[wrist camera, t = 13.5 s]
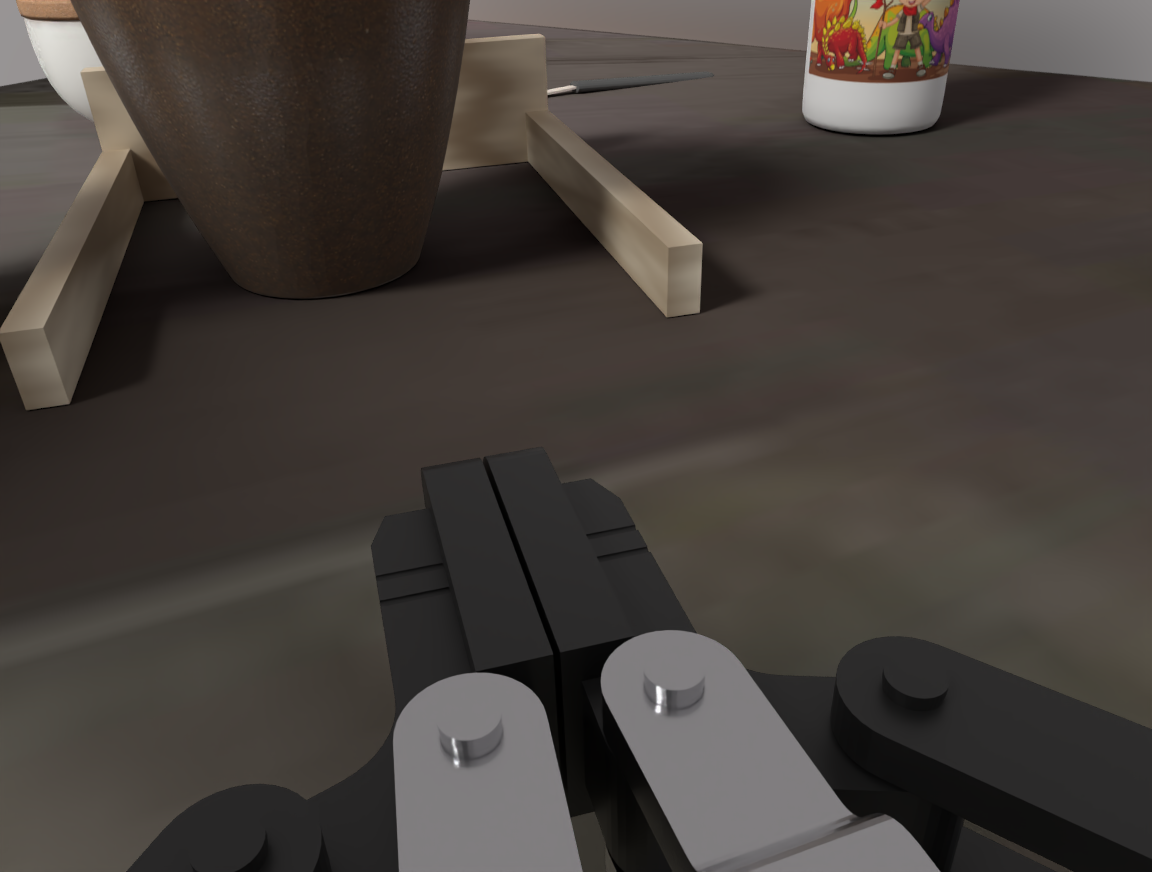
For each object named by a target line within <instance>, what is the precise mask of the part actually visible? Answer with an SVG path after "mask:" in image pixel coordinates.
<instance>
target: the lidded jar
mask: <svg viewBox="0 0 1152 872" xmlns="http://www.w3.org/2000/svg"><path fill="white" fill-rule="evenodd" d="M16 2H17V6H18V8H19V12H20V14H21V16H23V17H24V20H25V24H26V27H27V30H28V34H29V37H30V40H31V43H32V45H33V48H34V51H35V54H36V56H37V58H38V60H39V63H40V65H41V67H42V69H43V71H44V73H45V74H46V76H47V78H48V80H49V82H50V83H51V85H52V86H53V88H54V89H55V90H56V92H57V93H58V94H59V96H60V97H61V98H62V99H63V100H64V101H65V102H66V103H67V104H68V105H69V106H70V107H71V108H73V109H74V110H75V111H76V112H78V113H79V114H80V115H82V116H83V117H85V118H87V119H88V120H90V121H92V122H93V123H94V120H93V116H92V113H91V109H90V105H89V102H88V98H87V95H86V91H85V88H84V84H83V81H82V77H81V74H80V72H81V71H82V70H83V69H84V68H89V67H102V66H103V65H102V63H101V61H100V60H99V58H98V56H97V54H96V52H95V50H94V48H93V46H92V44H91V42H90V40H89V38H88V36H87V34H86V32H85V30H84V28H83V26H82V24H81V22H80V19H79V17H78V15H77V13H76V11H75V9H74V7H73V5H72V3H71V1H70V0H16Z"/></svg>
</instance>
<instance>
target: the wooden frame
mask: <svg viewBox="0 0 1152 872" xmlns="http://www.w3.org/2000/svg"><path fill="white" fill-rule="evenodd" d="M80 74H81V77H82V81H83V84H84V88H85V91H86V95H87V98H88V102H89V105H90V109H91V113H92V116H93V120H94V123H95V127H96V130H97V134H98V137H99V141H100V144H101V148H102V151H103V152H102V153H101V155H100V157H99V159H98V160H97V162H96V164H95V166H94V167H93V169H92V171H91V172H90V174H89V176H88V178H87V179H86V181H85V183H84V185H83V186H82V188H81V190H80V191H79V193H78V195H77V197H76V198H75V200H74V202H73V204H72V205H71V207H70V209H69V211H68V212H67V214H66V216H65V217H64V219H63V221H62V223H61V224H60V226H59V228H58V230H57V231H56V233H55V235H54V236H53V238H52V240H51V242H50V243H49V245H48V247H47V249H46V250H45V252H44V254H43V256H42V257H41V259H40V261H39V262H38V264H37V266H36V268H35V269H34V271H33V273H32V275H31V276H30V278H29V280H28V282H27V283H26V285H25V287H24V288H23V290H22V292H21V294H20V295H19V297H18V299H17V301H16V302H15V304H14V306H13V307H12V309H11V311H10V313H9V314H8V316H7V318H6V320H5V321H4V323H3V325H2V327H1V328H0V342H1V345H2V347H3V350H4V353H5V355H6V358H7V361H8V363H9V366H10V369H11V371H12V374H13V377H14V379H15V382H16V385H17V387H18V390H19V392H20V395H21V398H22V400H23V403H24V406H25V408H26V410H32V409H38V408H45V407H52V406H59V405H66V404H70V402H71V399H72V396H73V394H74V391H75V388H76V385H77V383H78V380H79V377H80V375H81V372H82V369H83V366H84V364H85V361H86V358H87V355H88V353H89V350H90V347H91V345H92V342H93V339H94V336H95V334H96V331H97V328H98V325H99V323H100V320H101V317H102V315H103V312H104V309H105V306H106V304H107V301H108V298H109V296H110V293H111V290H112V287H113V285H114V282H115V279H116V276H117V274H118V271H119V268H120V266H121V263H122V260H123V257H124V255H125V252H126V249H127V246H128V244H129V241H130V238H131V236H132V233H133V230H134V227H135V225H136V222H137V219H138V217H139V214H140V211H141V208H142V206H143V203H144V201H153V200H163V199H173V198H178V197H177V195H176V194H175V192H174V190H173V189H172V187H171V186H170V184H169V182H168V181H167V179H166V178H165V176H164V174H163V173H162V171H161V169H160V168H159V166H158V164H157V163H156V161H155V159H154V158H153V156H152V154H151V153H150V151H149V149H148V147H147V146H146V144H145V142H144V140H143V139H142V137H141V135H140V133H139V132H138V130H137V128H136V126H135V125H134V123H133V121H132V119H131V117H130V116H129V114H128V112H127V110H126V108H125V106H124V105H123V103H122V101H121V99H120V97H119V95H118V94H117V92H116V90H115V88H114V86H113V84H112V82H111V80H110V78H109V77H108V75H107V73H106V71H105V69H104V67H103V66H102V67H89V68H84V69H83V70H82V71H81V72H80ZM518 162H529V163H530V164H531V165H532V166H533V168H534V169H535V170H536V171H537V172H538V173H539V174H540V175H541V177H542V178H543V179H544V180H545V181H546V182H547V183H548V184H549V186H550V187H551V188H552V189H553V190H554V191H555V192H556V193H557V194H558V196H559V197H560V198H561V199H562V200H563V201H564V202H565V203H566V205H567V206H568V207H569V208H570V209H571V210H572V211H573V212H574V214H575V215H576V216H577V217H578V218H579V219H580V220H581V221H582V223H583V224H584V225H585V226H586V227H587V228H588V229H589V230H590V232H591V233H592V234H593V235H594V236H595V237H596V238H597V239H598V241H599V242H600V243H601V244H602V245H603V246H604V247H605V248H606V250H607V251H608V252H609V253H610V254H611V255H612V256H613V257H614V259H615V260H616V261H617V262H618V263H619V264H620V265H621V266H622V268H623V269H624V270H625V271H626V272H627V273H628V274H629V275H630V277H631V278H632V279H633V280H634V281H635V282H636V283H637V284H638V285H639V287H640V288H641V289H642V290H643V291H644V292H645V293H646V294H647V296H648V297H649V298H650V299H651V300H652V301H653V302H654V303H655V305H656V306H657V307H658V308H659V309H660V310H661V311H662V312H663V314H664V315H665V316H666V317H674V316H681V315H688V314H695V313H700V295H701V270H702V246H703V243H702V242H701V241H699V240H698V239H697V238H696V237H695V236H694V235H692V234H691V233H690V232H689V231H688V230H687V229H685V228H684V227H683V226H682V225H681V224H680V223H678V222H677V221H676V220H675V219H674V218H673V217H672V216H670V215H669V214H668V213H667V212H666V211H665V210H663V209H662V208H661V207H660V206H659V205H658V204H656V203H655V202H654V201H653V200H652V199H651V198H649V197H648V196H647V195H646V194H645V193H644V192H643V191H641V190H640V189H639V188H638V187H637V186H636V185H634V184H633V183H632V182H631V181H630V180H629V179H627V178H626V177H625V176H624V175H623V174H622V173H620V172H619V171H618V170H617V169H616V168H615V167H613V166H612V165H611V164H610V163H609V162H608V161H607V160H605V159H604V158H603V157H602V156H601V155H600V154H598V153H597V152H596V151H595V150H594V149H593V148H591V147H590V146H589V145H588V144H587V143H586V142H584V141H583V140H582V139H581V138H580V137H579V136H577V135H576V134H575V133H574V132H573V131H572V130H571V129H569V128H568V127H567V126H566V125H565V124H564V123H562V122H561V121H560V120H559V119H558V118H557V117H555V116H554V115H553V114H552V113H551V112H550V111H548V95H547V72H546V49H545V37H544V36H542V35H541V34H529V35H516V36H502V37H489V38H476V39H465V44H464V50H463V57H462V64H461V70H460V77H459V84H458V90H457V96H456V101H455V107H454V113H453V118H452V124H451V129H450V134H449V140H448V145H447V150H446V155H445V160H444V164H443V169H442V170H451V169H461V168H470V167H480V166H489V165H499V164H509V163H518Z"/></svg>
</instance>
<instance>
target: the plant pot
mask: <svg viewBox="0 0 1152 872" xmlns="http://www.w3.org/2000/svg"><path fill="white" fill-rule="evenodd" d="M70 1H71V3H72V5H73V7H74V9H75V11H76V13H77V15H78V17H79V19H80V22H81V24H82V26H83V28H84V30H85V32H86V34H87V36H88V38H89V40H90V42H91V44H92V46H93V48H94V50H95V52H96V54H97V56H98V58H99V60H100V61H101V63H102V65H103V67H104V69H105V71H106V73H107V75H108V77H109V78H110V80H111V82H112V84H113V86H114V88H115V90H116V92H117V94H118V95H119V97H120V99H121V101H122V103H123V105H124V106H125V108H126V110H127V112H128V114H129V116H130V117H131V119H132V121H133V123H134V125H135V126H136V128H137V130H138V132H139V133H140V135H141V137H142V139H143V140H144V142H145V144H146V146H147V147H148V149H149V151H150V153H151V154H152V156H153V158H154V159H155V161H156V163H157V164H158V166H159V168H160V169H161V171H162V173H163V174H164V176H165V178H166V179H167V181H168V182H169V184H170V186H171V187H172V189H173V190H174V192H175V194H176V195H177V197H178V198H179V200H180V202H181V203H182V205H183V206H184V208H185V210H186V211H187V213H188V214H189V216H190V217H191V219H192V221H193V222H194V224H195V225H196V227H197V228H198V230H199V231H200V233H201V234H202V236H203V237H204V239H205V240H206V242H207V243H208V245H209V246H210V248H211V249H212V251H213V252H214V253H215V255H216V256H217V258H218V259H219V261H220V262H221V264H222V265H223V267H224V268H225V269H226V271H227V272H228V274H229V275H230V276H231V278H232V279H233V281H234V282H235V283H236V284H238V285H239V286H241V287H242V288H244V289H246V290H248V291H251V292H253V293H257V294H260V295H265V296H269V297H278V298H292V299H317V298H325V297H334V296H341V295H346V294H352V293H356V292H360V291H364V290H368V289H371V288H375V287H378V286H380V285H383V284H386V283H388V282H391V281H393V280H395V279H397V278H399V277H400V276H402V275H403V274H405V273H406V272H408V271H409V270H410V269H411V268H412V267H414V266H415V264H416V263H417V261H418V260H419V257H420V254H421V250H422V247H423V243H424V240H425V236H426V233H427V229H428V225H429V221H430V217H431V213H432V210H433V206H434V202H435V198H436V194H437V190H438V186H439V182H440V178H441V174H442V169H443V164H444V160H445V155H446V150H447V145H448V140H449V134H450V129H451V124H452V118H453V113H454V107H455V101H456V96H457V90H458V84H459V77H460V70H461V64H462V57H463V50H464V44H465V36H466V28H467V20H468V12H469V4H470V0H70Z"/></svg>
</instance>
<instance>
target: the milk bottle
mask: <svg viewBox="0 0 1152 872" xmlns="http://www.w3.org/2000/svg"><path fill="white" fill-rule="evenodd" d="M958 7H959V0H812V1H811V12H810V23H809V34H808V45H807V56H806V67H805V79H804V90H803V107H802V111H803V114H804V117H805V120H806V121H807V122H808V123H810V124H812V125H814V126H817V127H820V128H824V129H828V130H833V131H839V132H846V133H856V134H899V133H909V132H915V131H920V130H923V129H927V128H929V127H931V126H933V125H934V124H935V123H936V121H937V120H938V118H939V116H940V113H941V108H942V103H943V98H944V92H945V86H946V80H947V74H948V68H949V61H950V56H951V50H952V43H953V37H954V31H955V25H956V19H957V12H958Z"/></svg>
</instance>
